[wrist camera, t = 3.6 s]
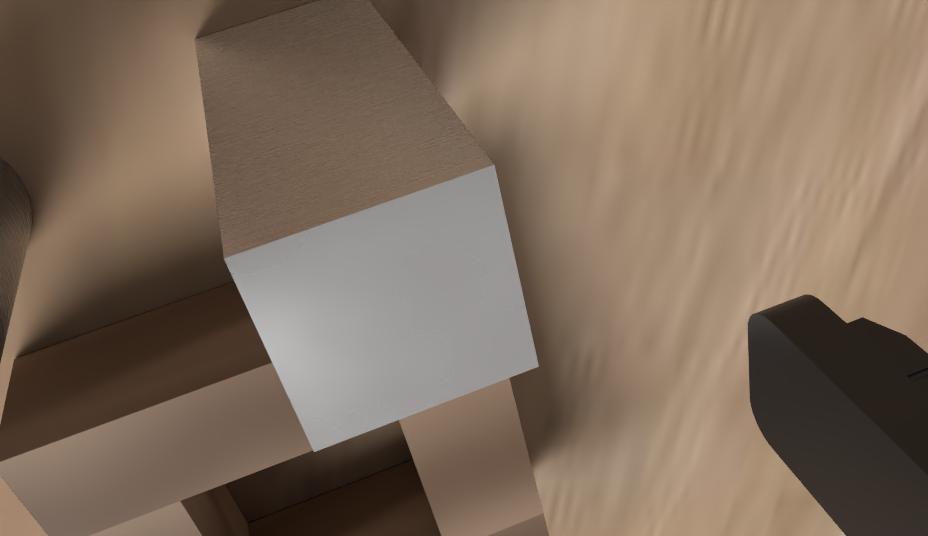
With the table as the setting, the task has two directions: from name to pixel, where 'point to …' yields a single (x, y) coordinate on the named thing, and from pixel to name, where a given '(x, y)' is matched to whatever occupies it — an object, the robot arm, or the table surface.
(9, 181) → the round bit
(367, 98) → the square bit
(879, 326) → the robot arm
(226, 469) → the socket block
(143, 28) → the table surface
